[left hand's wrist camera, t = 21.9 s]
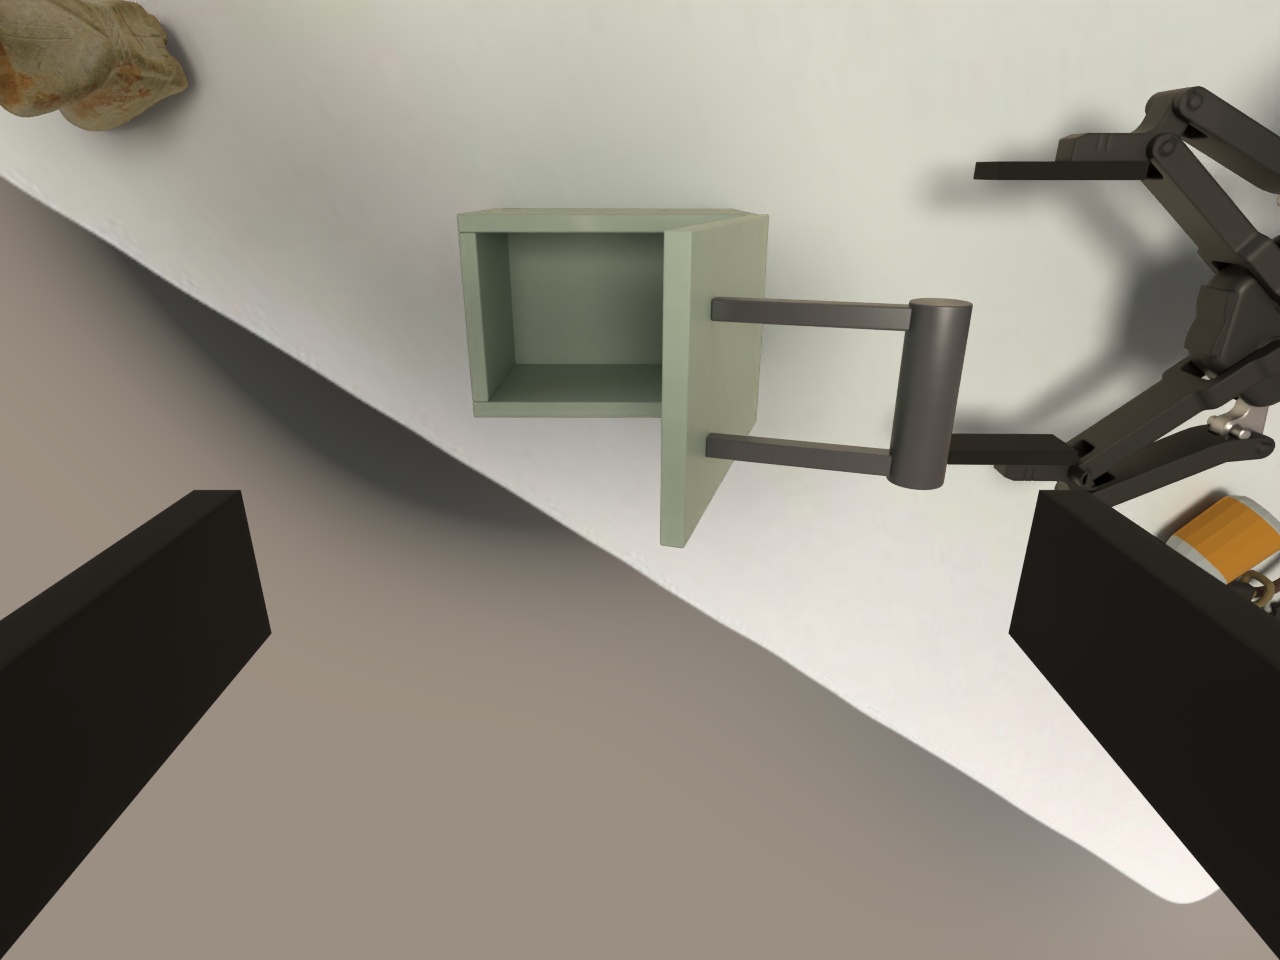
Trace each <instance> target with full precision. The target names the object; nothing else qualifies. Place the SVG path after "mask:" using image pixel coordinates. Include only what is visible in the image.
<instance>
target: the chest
mask: <svg viewBox="0 0 1280 960" xmlns="http://www.w3.org/2000/svg"><path fill="white" fill-rule="evenodd" d="M752 214H754V213H749V212H744V211H740V210H735V209H490V210H483V211H475V212H468V213H460V214H457V222H458V231H459V232H460V233H459V245H460V257H461V269H462V281H463V293H464V304H465V316H466V328H467V340H468V352H469V363H470V375H471V387H472V399H473V401H474V402H473V411H474V417H662V350H663V270H664V231H666V230H671V229H676V228H681V227H687V226H692V225H698V224H703V223H709V222H714V221H720V220H725V219H731V218H736V217H741V216H747V215H752ZM756 215H758V214H756Z"/></svg>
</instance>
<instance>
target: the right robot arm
mask: <svg viewBox="0 0 1280 960" xmlns="http://www.w3.org/2000/svg"><path fill="white" fill-rule="evenodd" d="M1145 112H1146V116H1145V118H1144V120H1143V121H1142V123H1141V124H1140V126H1139V127H1138V128H1137V129H1136V130H1134V131H1133V132H1131V133H1085V134H1073V135H1069V136H1067V137H1064V138H1062V139H1059V144H1058V149H1057V154H1056V159H1055V162H976V166H975V172H974V179H980V180H1141V181H1142V182H1143V183H1144V185H1145V186H1146V187H1147V188H1148V189H1149V190H1150V192H1151V193H1152V194H1153V195H1154V196H1155V197H1156V199H1157V200H1158V201H1159V202H1160V203H1161V204H1162V205H1163V207H1164V208H1165V209H1166V210H1167V211H1168V212H1169V214H1170V215H1171V216H1172V217H1173V218H1174V219H1175V221H1176V222H1177V223H1178V224H1179V225H1180V226H1181V227H1182V229H1183V230H1184V231H1185V232H1186V233H1187V234H1188V236H1189V237H1190V238H1191V239H1192V240H1193V241H1194V243H1195V244H1196V245H1197V246H1198V247H1199V249H1198V254H1199V255H1200V256H1201V258H1202V259H1203V260H1204V261H1205V262H1206V263H1207V265H1208V266H1209V267H1210V268H1211V269H1212V270H1213V271H1214V273H1215V274H1216V275H1215V276H1214V277H1213V278H1212V279H1211V280H1210V282H1209V283H1208V285H1207V286H1201V288H1200V292H1199V295H1198V299H1197V316H1196V319H1195V321H1194V322H1193V324H1192V326H1191V328H1190V330H1189V331H1188V334H1187V337H1186V341H1185V344H1184V348H1187V349H1189V356H1188V357H1186V358H1185V359H1183V360H1182V361H1180V362H1179V363H1177V364H1175V365H1174V366H1172V367H1171V368H1169V369H1168V370H1167V371H1165V372H1164V373H1163V375H1162V380H1161V381H1159V382H1158V383H1156V384H1155V385H1153V386H1152V387H1150V388H1149V389H1147V390H1146V391H1144V392H1143V393H1141V394H1140V395H1138V396H1137V397H1135V398H1134V399H1132V400H1131V401H1129V402H1128V403H1126V404H1125V405H1123V406H1121V407H1120V408H1118V409H1117V410H1115V411H1114V412H1112V413H1111V414H1109V415H1108V416H1106V417H1105V418H1103V419H1102V420H1100V421H1099V422H1097V423H1096V424H1094V425H1093V426H1091V427H1090V428H1088V429H1087V430H1085V431H1084V432H1082V433H1081V434H1079V435H1077V436H1076V437H1074V438H1073V439H1071V440H1070V441H1068V442H1067V443H1065V442H1063V441H1062V440H1060V439H1059V438H1057V437H1056V436H1054V435H1053V434H952V435H951V441H950V447H949V453H948V459H947V464H962V465H994V468H995V469H996V470H997V471H998V472H1000V473H1001V474H1002V475H1003V476H1004V477H1006V478H1008V479H1011V480H1013V481H1024V480H1025V481H1031V480H1033V481H1057V484H1056V486H1055V490H1087V491H1088V492H1090V493H1091V494H1093V495H1094V496H1095V497H1097V498H1098V499H1100V500H1101V501H1103V502H1104V503H1106V504H1107V505H1109V506H1110V507H1113V506H1115V505H1118V504H1121V503H1123V502H1126V501H1128V500H1131V499H1133V498H1136V497H1138V496H1141V495H1143V494H1146V493H1149V492H1151V491H1154V490H1156V489H1159V488H1161V487H1164V486H1166V485H1169V484H1172V483H1174V482H1177V481H1179V480H1182V479H1184V478H1187V477H1189V476H1192V475H1195V474H1197V473H1200V472H1202V471H1205V470H1207V469H1210V468H1212V467H1215V466H1218V465H1220V464H1223V463H1225V462H1233V461H1243V460H1254V459H1262V458H1265V457H1267V456H1269V455H1270V454H1271V453H1272V452H1273V450H1274V448H1275V442H1274V440H1273V439H1272V438H1270V437H1268V436H1266V435H1263V430H1264V425H1265V421H1266V416H1267V412H1268V407H1269V406H1271V405H1273V404H1276V403H1278V402H1280V235H1278V236H1277V237H1275V238H1273V239H1270V238H1269V237H1267V236H1265V235H1263V234H1261V233H1259V232H1258V231H1257V230H1256V229H1255V228H1254V226H1253V225H1252V224H1251V223H1250V222H1249V220H1248V219H1247V218H1246V217H1245V216H1244V214H1243V213H1242V212H1241V211H1240V209H1239V208H1238V207H1237V206H1236V205H1235V203H1234V202H1233V201H1232V200H1231V199H1230V197H1229V196H1228V195H1227V194H1226V193H1225V191H1224V190H1223V189H1222V188H1221V187H1220V185H1219V184H1218V183H1217V182H1216V181H1215V179H1214V178H1213V177H1212V176H1211V174H1210V173H1209V172H1208V171H1207V170H1206V168H1205V167H1204V166H1203V165H1202V164H1201V162H1200V161H1199V160H1198V159H1197V158H1196V156H1195V155H1194V154H1193V153H1192V152H1191V150H1190V149H1189V148H1188V147H1187V146H1186V144H1185V143H1184V142H1183V141H1185V142H1186V143H1188V144H1189V145H1191V146H1193V147H1194V148H1196V149H1197V150H1199V151H1201V152H1202V153H1204V154H1205V155H1207V156H1209V157H1210V158H1212V159H1213V160H1215V161H1216V162H1218V163H1220V164H1221V165H1223V166H1224V167H1226V168H1228V169H1229V170H1231V171H1232V172H1234V173H1236V174H1237V175H1239V176H1240V177H1242V178H1243V179H1245V180H1247V181H1248V182H1250V183H1251V184H1253V185H1255V186H1256V187H1258V188H1260V189H1262V190H1264V191H1267V192H1270V193H1274V194H1279V195H1280V137H1279V136H1278V135H1276V134H1275V133H1273V132H1272V131H1270V130H1269V129H1267V128H1265V127H1264V126H1262V125H1261V124H1259V123H1258V122H1256V121H1255V120H1253V119H1252V118H1250V117H1248V116H1247V115H1245V114H1244V113H1242V112H1241V111H1239V110H1238V109H1236V108H1235V107H1233V106H1231V105H1230V104H1228V103H1227V102H1225V101H1224V100H1222V99H1221V98H1219V97H1218V96H1216V95H1215V94H1213V93H1211V92H1210V91H1208V90H1207V89H1205V88H1203V87H1200V86H1196V87H1188V88H1182V89H1176V90H1169V91H1164V92H1158V93H1156V94H1154V95H1153V96H1152V97H1151V98H1150V99H1149V100H1148V102H1147V104H1146V108H1145ZM1181 139H1182V140H1183V141H1182V140H1181ZM1277 205H1279V206H1280V196H1279V197H1278V198H1277ZM1205 375H1207V376H1208V377H1209V378H1210V379H1211V380H1205V379H1202V377H1203V376H1205ZM1232 399H1235V400H1236V403H1235V406H1234V407H1233V408H1232V409H1231V410H1230V411H1229V412H1227V413H1225V414H1222V415H1219V416H1216V415H1214V416H1211V417H1209V419H1208V420H1207V425H1200V426H1196V427H1192V428H1188V429H1185V430H1183V431H1180V432H1177V433H1175V434H1172V435H1170V436H1168V437H1165V438H1163V439H1160V440H1158V441H1156V440H1157V439H1159V438H1160V437H1162V436H1164V435H1165V434H1167V433H1168V432H1170V431H1171V430H1173V429H1175V428H1176V427H1178V426H1179V425H1181V424H1182V423H1184V422H1186V421H1187V420H1189V419H1190V418H1192V417H1193V416H1195V415H1197V414H1198V413H1200V412H1201V411H1204V410H1210V409H1216V408H1218V407H1220V406H1222V405H1224V404H1226V403H1227V402H1229V401H1230V400H1232ZM1154 441H1155V442H1154Z"/></svg>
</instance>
